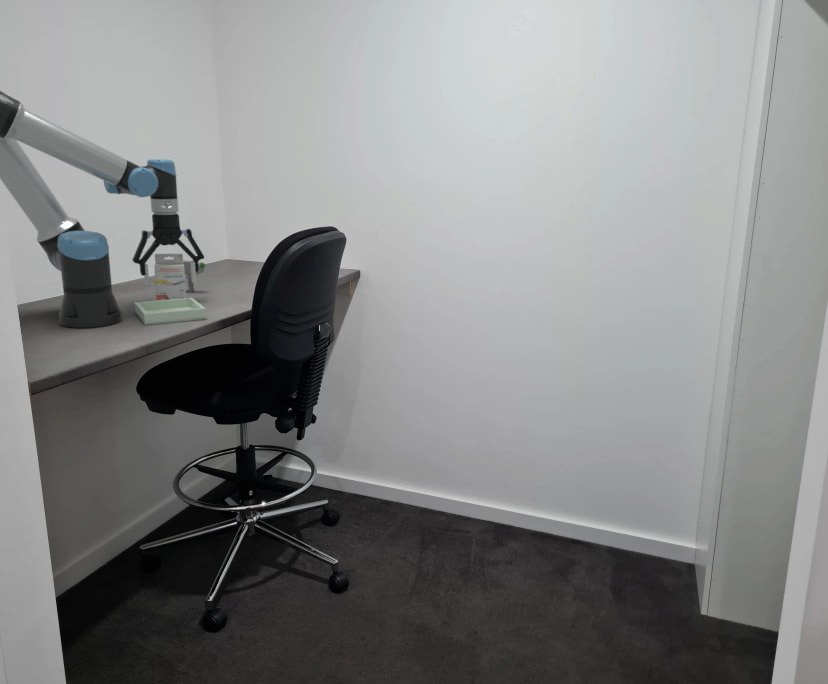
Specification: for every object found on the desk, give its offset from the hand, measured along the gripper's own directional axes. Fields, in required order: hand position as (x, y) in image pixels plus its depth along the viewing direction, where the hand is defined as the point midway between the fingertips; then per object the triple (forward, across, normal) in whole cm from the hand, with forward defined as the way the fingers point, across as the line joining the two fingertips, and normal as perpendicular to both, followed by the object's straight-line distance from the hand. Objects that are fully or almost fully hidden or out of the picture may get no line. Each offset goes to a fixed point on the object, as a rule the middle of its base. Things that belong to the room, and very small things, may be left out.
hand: (171, 284), depth 203 cm
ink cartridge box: (+6, 0, 0) cm, 6 cm away
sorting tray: (+6, -4, -18) cm, 19 cm away
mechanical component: (+6, +9, +14) cm, 18 cm away
